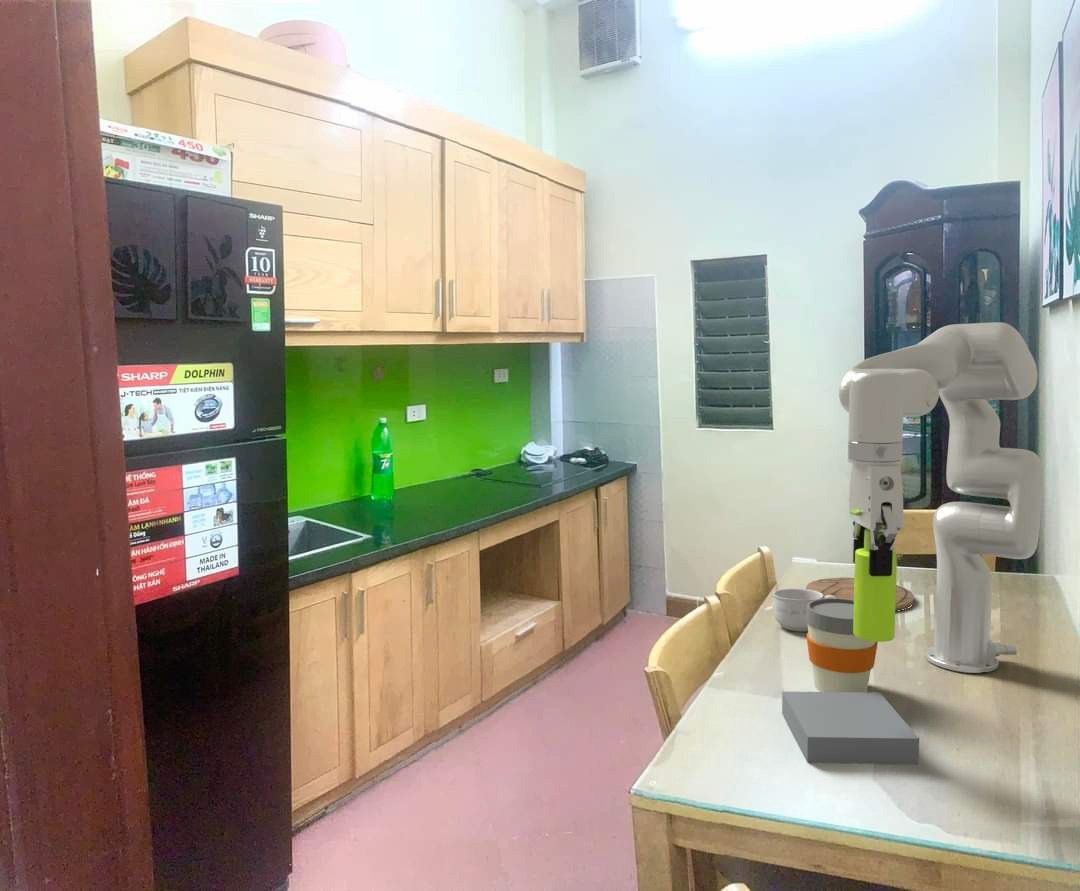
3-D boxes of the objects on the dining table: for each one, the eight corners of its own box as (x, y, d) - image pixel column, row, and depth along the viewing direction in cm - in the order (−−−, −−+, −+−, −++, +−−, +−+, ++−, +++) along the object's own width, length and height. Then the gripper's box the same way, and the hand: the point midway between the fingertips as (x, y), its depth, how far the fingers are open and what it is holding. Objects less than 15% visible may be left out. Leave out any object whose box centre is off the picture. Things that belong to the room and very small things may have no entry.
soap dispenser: (839, 629, 123) (842, 505, 120) (881, 627, 123) (884, 503, 121) (858, 643, 117) (862, 512, 114) (902, 640, 117) (906, 510, 115)
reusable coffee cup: (852, 671, 149) (854, 595, 147) (893, 699, 136) (895, 616, 135) (791, 677, 146) (792, 600, 145) (827, 706, 134) (828, 622, 133)
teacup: (770, 632, 171) (770, 597, 170) (775, 617, 181) (775, 583, 180) (838, 640, 165) (838, 603, 164) (839, 623, 175) (839, 589, 174)
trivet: (793, 603, 191) (793, 596, 191) (821, 579, 212) (821, 572, 211) (903, 621, 177) (903, 613, 177) (921, 593, 197) (922, 586, 197)
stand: (879, 715, 130) (879, 692, 130) (918, 764, 114) (919, 738, 114) (782, 714, 131) (782, 691, 131) (807, 762, 116) (807, 736, 115)
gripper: (925, 459, 108) (921, 585, 110) (878, 446, 125) (875, 555, 127) (870, 460, 109) (867, 586, 111) (831, 447, 126) (829, 556, 128)
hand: (871, 568), depth 119 cm, fingers closed on soap dispenser, 5 cm apart
